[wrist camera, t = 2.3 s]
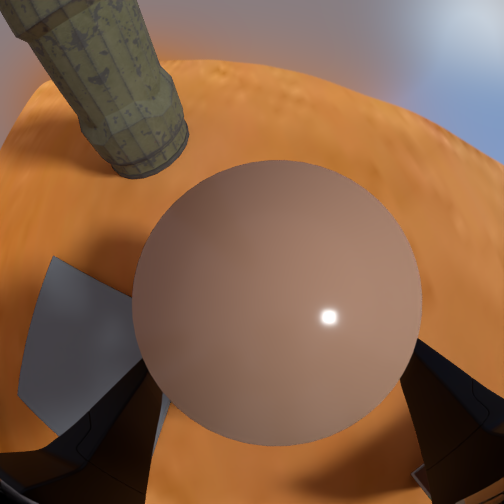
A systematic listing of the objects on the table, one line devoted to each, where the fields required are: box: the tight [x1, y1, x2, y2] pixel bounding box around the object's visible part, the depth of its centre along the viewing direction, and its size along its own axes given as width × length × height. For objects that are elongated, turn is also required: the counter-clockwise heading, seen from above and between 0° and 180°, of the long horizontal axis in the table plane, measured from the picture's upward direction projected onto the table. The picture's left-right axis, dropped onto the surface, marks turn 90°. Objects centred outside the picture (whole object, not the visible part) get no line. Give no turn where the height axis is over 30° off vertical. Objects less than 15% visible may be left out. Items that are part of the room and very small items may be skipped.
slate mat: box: [17, 256, 171, 456], centre depth 17 cm, size 16×16×1 cm
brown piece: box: [132, 160, 422, 446], centre depth 12 cm, size 7×7×13 cm
